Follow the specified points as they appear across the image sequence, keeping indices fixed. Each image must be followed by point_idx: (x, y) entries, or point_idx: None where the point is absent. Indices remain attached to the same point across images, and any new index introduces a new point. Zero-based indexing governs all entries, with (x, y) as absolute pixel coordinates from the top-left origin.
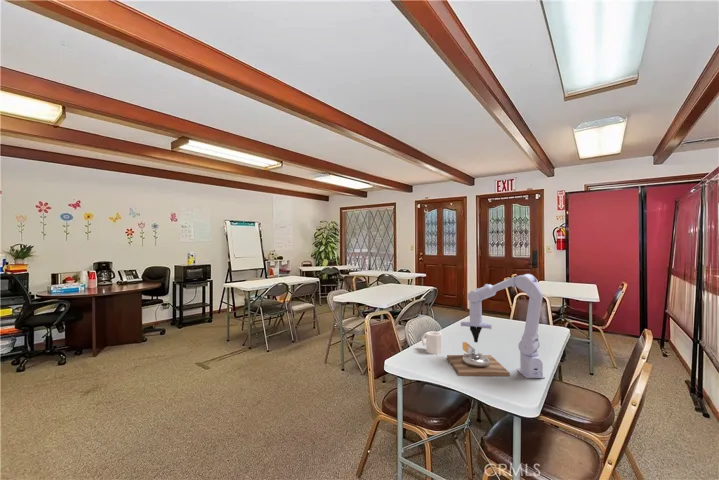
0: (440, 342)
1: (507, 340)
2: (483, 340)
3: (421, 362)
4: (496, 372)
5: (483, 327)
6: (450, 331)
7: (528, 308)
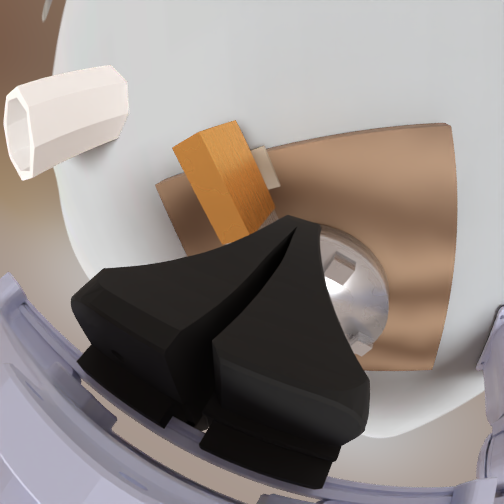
0: (76, 133)
1: None
2: None
3: (116, 248)
4: (379, 370)
5: (344, 498)
6: None
7: None
